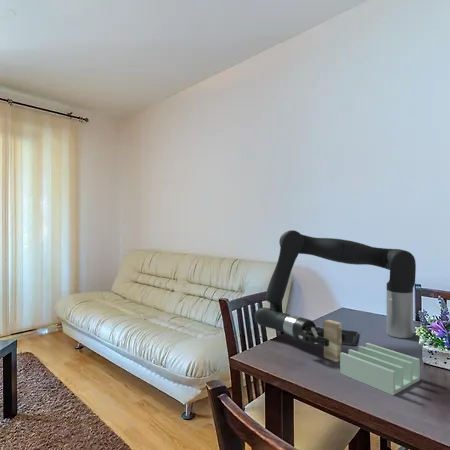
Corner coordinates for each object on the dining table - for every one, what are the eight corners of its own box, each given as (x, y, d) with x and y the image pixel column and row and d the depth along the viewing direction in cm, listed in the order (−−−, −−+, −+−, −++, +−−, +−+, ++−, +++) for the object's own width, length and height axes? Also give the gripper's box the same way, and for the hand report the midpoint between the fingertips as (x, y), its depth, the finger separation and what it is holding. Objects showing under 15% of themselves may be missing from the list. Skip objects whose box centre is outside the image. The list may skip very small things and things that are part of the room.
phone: (332, 341, 127) (337, 329, 140) (332, 344, 127) (337, 332, 140) (355, 344, 123) (358, 331, 137) (355, 347, 123) (358, 334, 137)
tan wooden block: (328, 355, 116) (328, 319, 115) (341, 360, 112) (341, 323, 111) (323, 357, 114) (323, 320, 114) (336, 362, 110) (336, 324, 110)
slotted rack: (367, 361, 110) (367, 342, 110) (419, 380, 97) (419, 359, 97) (340, 373, 102) (340, 352, 102) (393, 395, 89) (393, 372, 89)
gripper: (284, 320, 120) (322, 333, 107) (312, 313, 129) (350, 324, 115) (284, 342, 120) (322, 357, 107) (312, 334, 129) (350, 347, 116)
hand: (337, 340), depth 111 cm, fingers open, 8 cm apart
